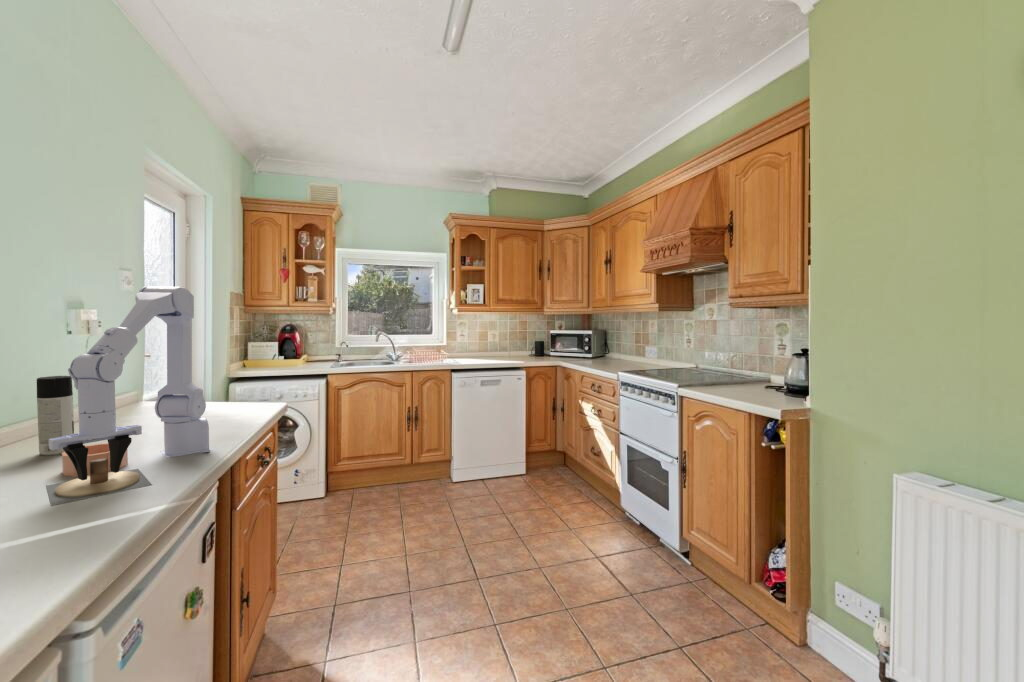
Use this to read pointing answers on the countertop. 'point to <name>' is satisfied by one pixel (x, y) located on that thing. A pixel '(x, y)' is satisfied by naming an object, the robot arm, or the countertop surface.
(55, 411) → the spray can
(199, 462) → the countertop surface
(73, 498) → the mat
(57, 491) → the lid
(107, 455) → the bowl
